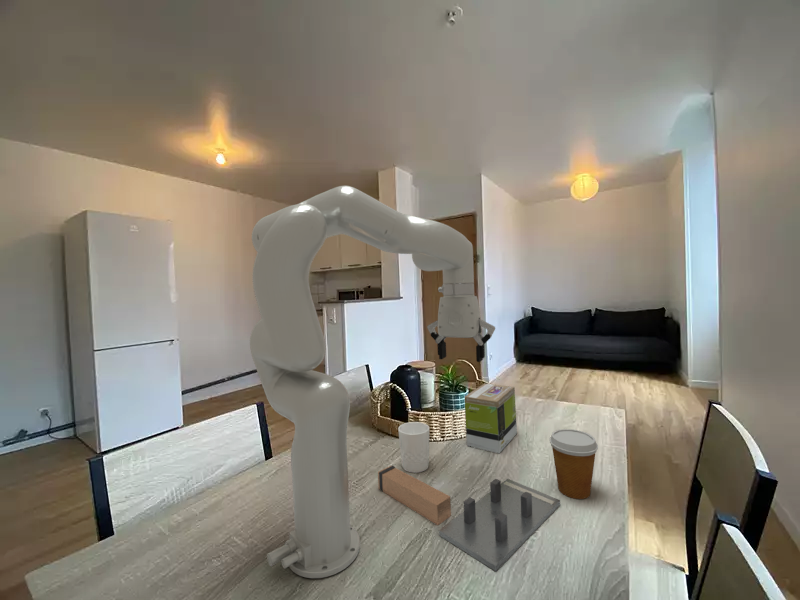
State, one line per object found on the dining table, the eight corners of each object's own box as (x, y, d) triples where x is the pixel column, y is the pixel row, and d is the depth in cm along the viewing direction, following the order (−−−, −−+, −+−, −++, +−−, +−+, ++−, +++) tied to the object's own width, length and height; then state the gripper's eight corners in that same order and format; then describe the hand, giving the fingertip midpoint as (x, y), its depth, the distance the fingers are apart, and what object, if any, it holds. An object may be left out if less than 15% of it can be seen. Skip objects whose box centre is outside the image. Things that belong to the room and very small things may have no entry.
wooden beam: (451, 515, 72) (450, 495, 72) (437, 525, 69) (436, 505, 69) (391, 481, 85) (391, 464, 85) (378, 489, 82) (377, 471, 82)
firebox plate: (495, 571, 58) (495, 541, 57) (439, 535, 66) (438, 509, 66) (560, 504, 74) (559, 481, 74) (507, 482, 83) (507, 461, 83)
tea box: (486, 427, 114) (484, 381, 114) (517, 434, 108) (516, 386, 108) (465, 446, 102) (463, 394, 101) (499, 455, 96) (498, 400, 96)
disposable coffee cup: (597, 509, 72) (596, 450, 72) (546, 496, 77) (545, 441, 77) (600, 485, 80) (599, 432, 80) (554, 475, 85) (553, 425, 85)
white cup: (428, 475, 87) (427, 435, 87) (397, 473, 89) (395, 433, 89) (432, 459, 95) (431, 422, 95) (403, 457, 97) (401, 421, 96)
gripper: (420, 292, 90) (423, 360, 91) (489, 290, 82) (491, 365, 82) (432, 291, 96) (434, 354, 97) (497, 289, 88) (499, 358, 89)
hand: (460, 359), depth 90 cm, fingers open, 9 cm apart
